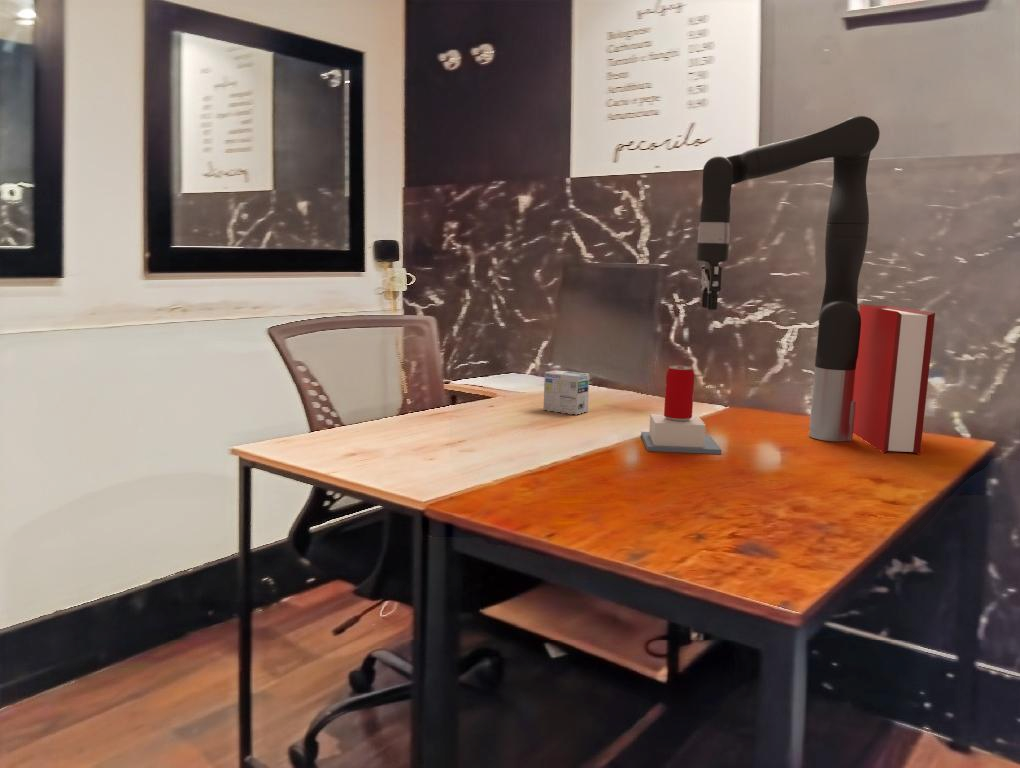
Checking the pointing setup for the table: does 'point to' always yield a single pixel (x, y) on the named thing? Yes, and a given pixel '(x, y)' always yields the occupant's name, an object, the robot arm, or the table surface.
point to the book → (892, 376)
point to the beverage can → (679, 393)
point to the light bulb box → (566, 392)
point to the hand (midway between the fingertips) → (708, 308)
